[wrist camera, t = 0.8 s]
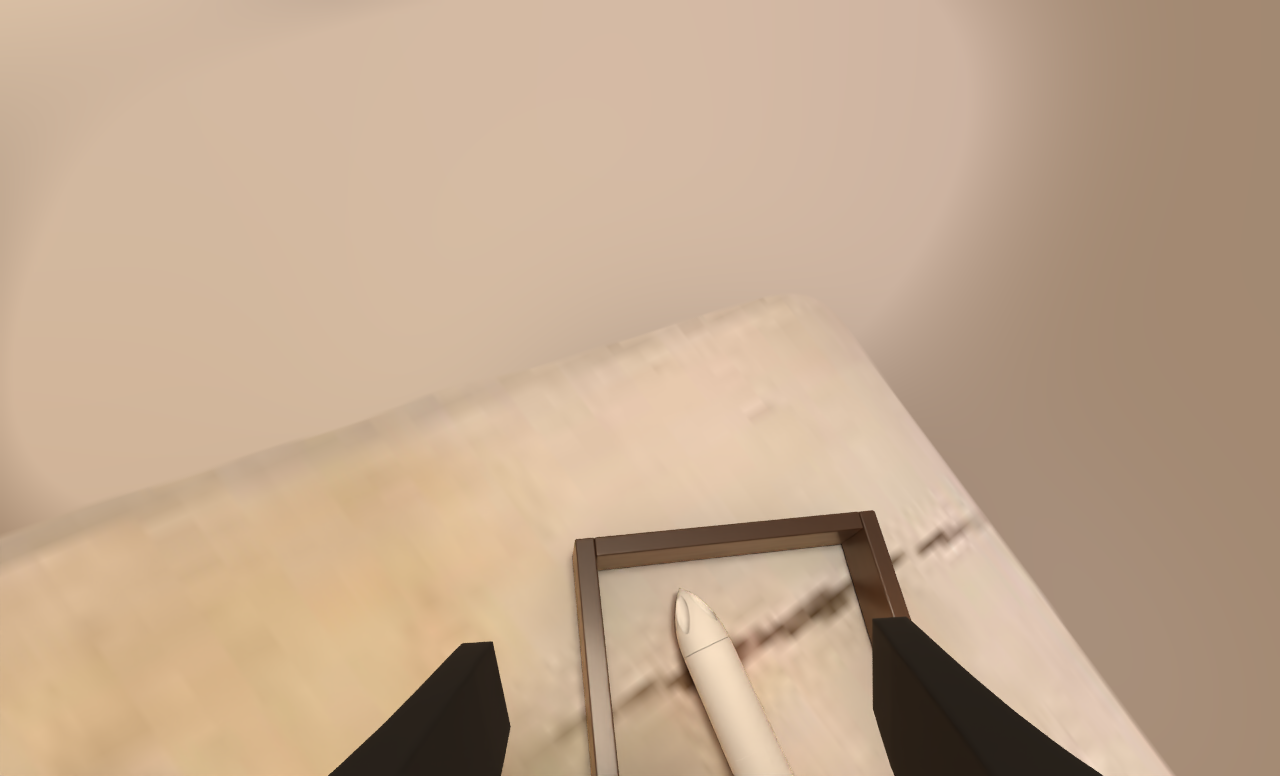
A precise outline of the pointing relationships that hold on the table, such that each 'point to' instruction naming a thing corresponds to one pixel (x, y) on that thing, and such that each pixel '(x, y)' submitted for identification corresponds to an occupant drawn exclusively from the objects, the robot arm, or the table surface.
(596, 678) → the open rectangular brown frame
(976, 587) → the table surface
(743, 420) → the table surface
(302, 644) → the table surface
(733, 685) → the marker
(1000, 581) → the table surface
